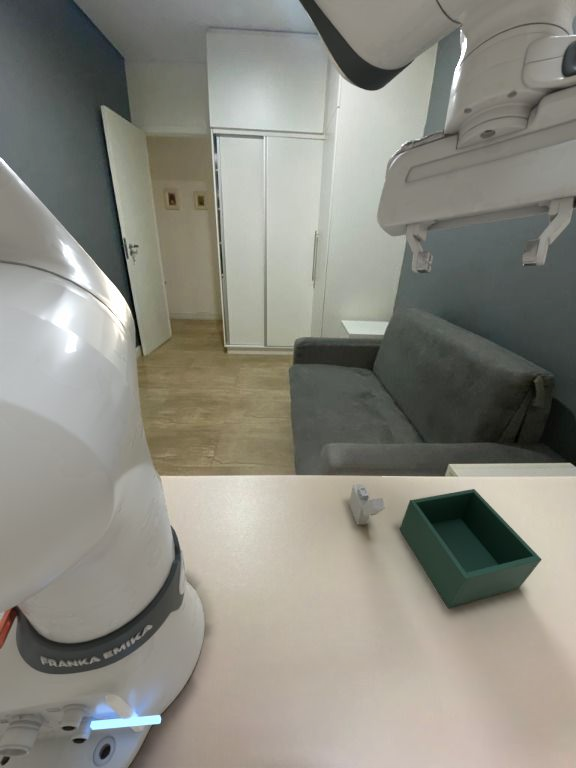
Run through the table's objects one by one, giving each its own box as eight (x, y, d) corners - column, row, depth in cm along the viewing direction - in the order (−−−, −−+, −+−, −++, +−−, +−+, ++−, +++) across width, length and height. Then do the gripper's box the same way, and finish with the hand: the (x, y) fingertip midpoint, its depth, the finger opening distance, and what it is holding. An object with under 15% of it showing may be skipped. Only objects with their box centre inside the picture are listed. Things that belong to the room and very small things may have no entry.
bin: (448, 608, 38) (465, 579, 35) (399, 528, 48) (409, 500, 44) (519, 588, 41) (542, 559, 38) (460, 516, 50) (474, 488, 47)
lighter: (348, 503, 51) (356, 467, 47) (358, 502, 52) (367, 467, 48) (363, 543, 45) (374, 506, 41) (374, 541, 46) (386, 505, 42)
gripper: (377, 131, 32) (358, 268, 34) (686, 9, 19) (629, 244, 21) (401, 163, 37) (383, 281, 39) (661, 83, 24) (617, 269, 25)
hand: (470, 268), depth 29 cm, fingers open, 8 cm apart
